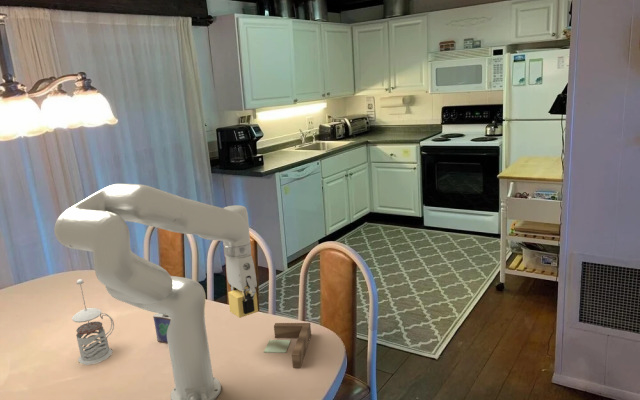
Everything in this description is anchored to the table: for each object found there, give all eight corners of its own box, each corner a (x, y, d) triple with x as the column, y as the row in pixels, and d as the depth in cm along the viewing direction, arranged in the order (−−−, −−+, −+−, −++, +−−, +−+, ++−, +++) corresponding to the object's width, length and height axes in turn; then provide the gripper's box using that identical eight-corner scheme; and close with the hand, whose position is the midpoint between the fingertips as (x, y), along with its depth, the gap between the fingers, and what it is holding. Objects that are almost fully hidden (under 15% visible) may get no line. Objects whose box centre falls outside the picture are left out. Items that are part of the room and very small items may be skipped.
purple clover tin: (155, 341, 154) (150, 310, 152) (162, 337, 157) (157, 306, 154) (178, 346, 150) (173, 314, 148) (184, 341, 153) (180, 310, 150)
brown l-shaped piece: (300, 368, 133) (298, 354, 132) (256, 367, 135) (255, 354, 134) (311, 334, 150) (310, 322, 150) (272, 334, 152) (271, 322, 152)
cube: (258, 311, 141) (256, 292, 140) (239, 318, 138) (237, 298, 136) (248, 305, 146) (246, 286, 144) (230, 311, 142) (227, 292, 141)
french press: (73, 356, 149) (57, 280, 143) (112, 341, 156) (98, 268, 151) (82, 369, 142) (65, 289, 136) (123, 353, 149) (108, 276, 143)
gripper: (264, 252, 133) (269, 314, 137) (235, 240, 147) (241, 296, 150) (239, 259, 129) (246, 322, 132) (212, 246, 143) (219, 303, 146)
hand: (243, 308), depth 141 cm, fingers closed on cube, 6 cm apart
